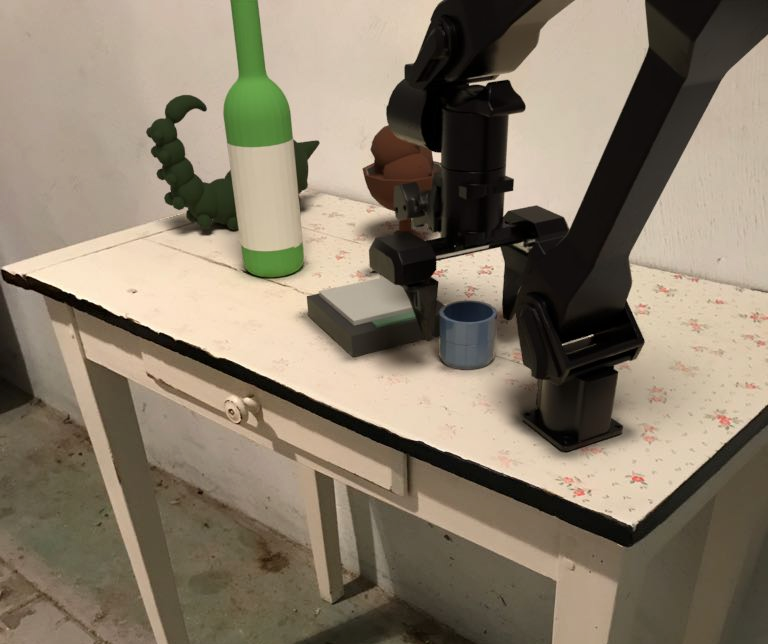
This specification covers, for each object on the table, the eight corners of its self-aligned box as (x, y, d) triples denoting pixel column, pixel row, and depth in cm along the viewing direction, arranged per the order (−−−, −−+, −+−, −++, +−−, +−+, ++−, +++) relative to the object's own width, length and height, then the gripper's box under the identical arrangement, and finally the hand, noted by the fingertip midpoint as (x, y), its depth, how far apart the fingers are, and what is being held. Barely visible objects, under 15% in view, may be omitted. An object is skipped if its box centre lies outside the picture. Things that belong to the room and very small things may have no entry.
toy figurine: (194, 257, 114) (344, 205, 124) (156, 111, 102) (325, 66, 112) (167, 240, 120) (311, 191, 130) (128, 100, 108) (290, 58, 118)
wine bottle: (233, 267, 106) (193, -6, 88) (284, 253, 110) (256, -12, 91) (264, 284, 101) (228, -2, 83) (316, 269, 104) (293, -9, 86)
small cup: (505, 362, 82) (508, 315, 79) (457, 375, 80) (458, 328, 77) (475, 341, 86) (477, 296, 83) (429, 353, 84) (429, 307, 81)
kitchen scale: (453, 332, 88) (454, 305, 87) (352, 357, 84) (351, 330, 82) (401, 294, 97) (401, 270, 95) (308, 316, 93) (305, 290, 91)
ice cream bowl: (440, 257, 107) (441, 133, 98) (356, 253, 109) (350, 131, 100) (451, 230, 115) (453, 113, 106) (373, 227, 117) (369, 113, 108)
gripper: (510, 131, 81) (502, 284, 90) (339, 159, 75) (348, 320, 84) (581, 155, 73) (563, 320, 82) (395, 189, 67) (399, 363, 76)
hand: (468, 329), depth 81 cm, fingers open, 9 cm apart
